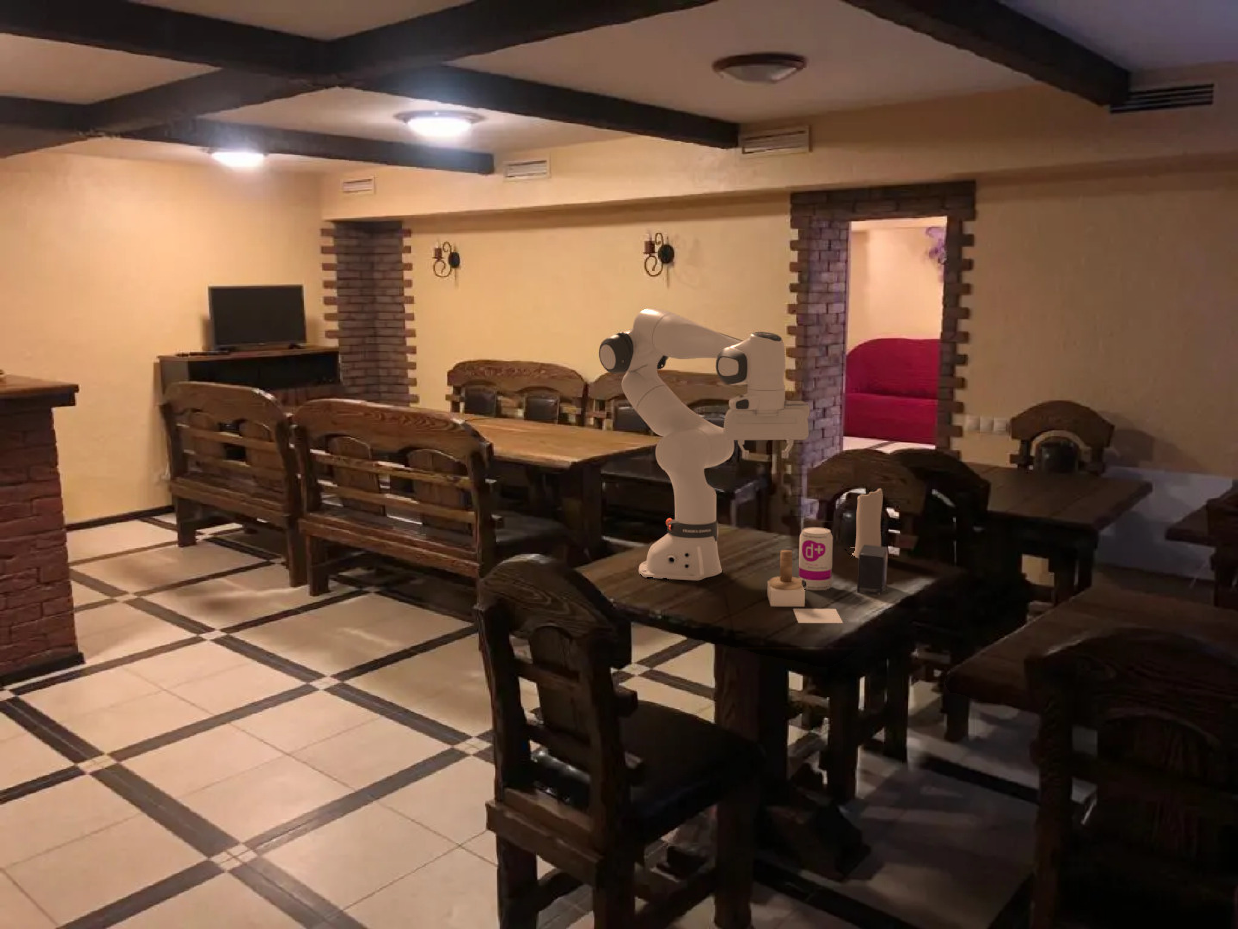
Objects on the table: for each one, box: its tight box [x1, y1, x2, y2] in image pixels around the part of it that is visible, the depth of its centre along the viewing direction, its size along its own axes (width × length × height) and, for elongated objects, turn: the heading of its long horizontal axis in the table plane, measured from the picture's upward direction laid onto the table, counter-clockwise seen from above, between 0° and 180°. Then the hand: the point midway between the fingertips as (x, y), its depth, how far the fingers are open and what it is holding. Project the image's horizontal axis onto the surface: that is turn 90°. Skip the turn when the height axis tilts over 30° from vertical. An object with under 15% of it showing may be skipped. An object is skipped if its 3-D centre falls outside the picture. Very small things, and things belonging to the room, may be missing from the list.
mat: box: [792, 608, 844, 624], centre depth 229 cm, size 10×10×1 cm
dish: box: [767, 580, 806, 607], centre depth 240 cm, size 8×8×4 cm
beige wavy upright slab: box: [851, 487, 884, 559], centre depth 283 cm, size 7×14×20 cm, turn 19°
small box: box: [856, 545, 888, 595], centre depth 249 cm, size 11×6×10 cm, turn 160°
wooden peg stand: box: [769, 549, 802, 590], centre depth 239 cm, size 8×8×8 cm
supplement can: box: [798, 526, 834, 591], centre depth 252 cm, size 8×8×15 cm
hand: (765, 458), depth 239 cm, fingers open, 8 cm apart
